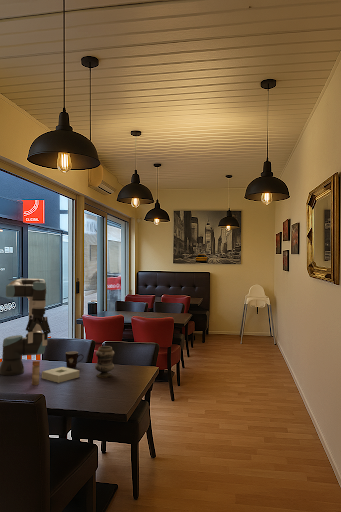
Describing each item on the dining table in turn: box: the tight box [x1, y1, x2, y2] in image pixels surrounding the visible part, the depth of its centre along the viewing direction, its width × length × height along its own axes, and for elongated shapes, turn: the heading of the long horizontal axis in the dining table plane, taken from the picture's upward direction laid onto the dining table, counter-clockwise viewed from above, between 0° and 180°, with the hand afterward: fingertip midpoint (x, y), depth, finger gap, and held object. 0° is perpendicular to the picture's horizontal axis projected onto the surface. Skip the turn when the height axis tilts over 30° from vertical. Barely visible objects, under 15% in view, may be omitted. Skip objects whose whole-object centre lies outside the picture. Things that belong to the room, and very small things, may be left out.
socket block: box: [41, 366, 80, 384], centre depth 231 cm, size 16×16×4 cm
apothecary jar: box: [94, 345, 115, 379], centre depth 238 cm, size 12×12×18 cm
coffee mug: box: [65, 351, 85, 369], centre depth 257 cm, size 12×9×10 cm
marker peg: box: [31, 360, 41, 386], centre depth 217 cm, size 4×4×13 cm
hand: (37, 344), depth 218 cm, fingers open, 13 cm apart
